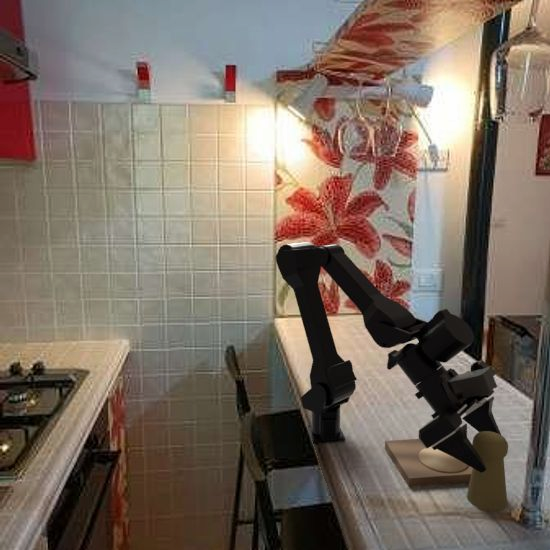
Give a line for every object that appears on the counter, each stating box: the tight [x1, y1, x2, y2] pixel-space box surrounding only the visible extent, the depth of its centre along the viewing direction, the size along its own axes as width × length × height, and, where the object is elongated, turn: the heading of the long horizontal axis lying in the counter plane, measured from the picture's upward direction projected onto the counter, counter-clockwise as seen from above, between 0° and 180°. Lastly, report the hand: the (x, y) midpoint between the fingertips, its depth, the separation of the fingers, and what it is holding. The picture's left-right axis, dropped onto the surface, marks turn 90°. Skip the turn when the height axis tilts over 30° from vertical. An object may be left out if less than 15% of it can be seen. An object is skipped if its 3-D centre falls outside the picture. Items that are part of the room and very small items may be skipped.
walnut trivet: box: [384, 438, 473, 488], centre depth 97 cm, size 13×14×2 cm
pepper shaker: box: [466, 431, 509, 512], centre depth 85 cm, size 6×6×11 cm
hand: (494, 458), depth 84 cm, fingers open, 9 cm apart
